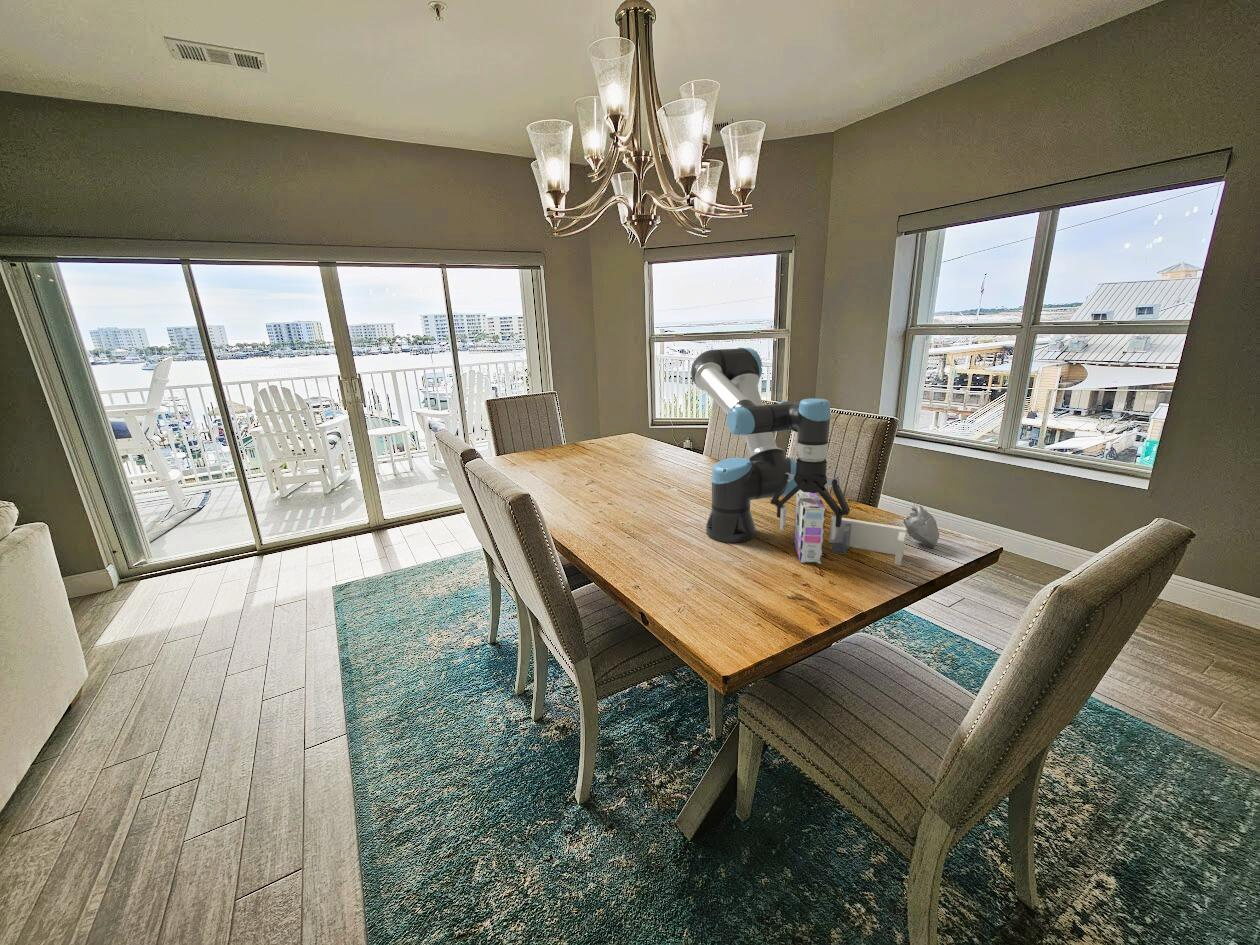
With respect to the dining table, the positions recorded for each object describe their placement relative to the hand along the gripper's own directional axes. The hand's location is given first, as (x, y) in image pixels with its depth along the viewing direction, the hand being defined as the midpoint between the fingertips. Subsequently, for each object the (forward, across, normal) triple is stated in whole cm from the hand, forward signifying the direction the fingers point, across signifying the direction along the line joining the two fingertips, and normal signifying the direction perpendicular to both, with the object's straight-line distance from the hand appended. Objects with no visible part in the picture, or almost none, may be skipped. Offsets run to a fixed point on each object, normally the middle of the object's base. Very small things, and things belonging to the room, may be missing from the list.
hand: (807, 532), depth 132 cm
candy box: (+7, 0, +2) cm, 7 cm away
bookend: (+7, +7, +8) cm, 13 cm away
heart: (+7, +27, +21) cm, 35 cm away
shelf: (+7, +13, +9) cm, 17 cm away
